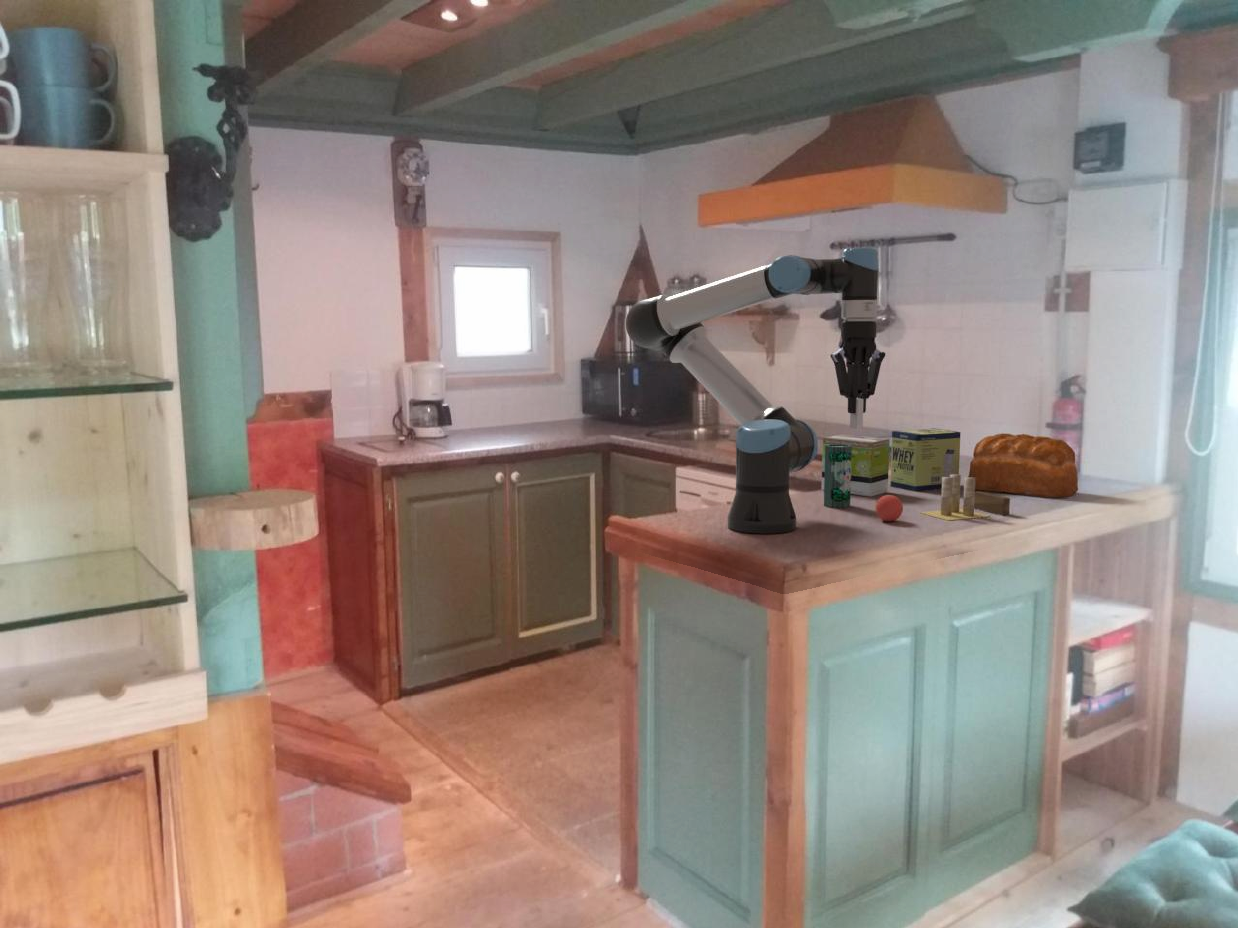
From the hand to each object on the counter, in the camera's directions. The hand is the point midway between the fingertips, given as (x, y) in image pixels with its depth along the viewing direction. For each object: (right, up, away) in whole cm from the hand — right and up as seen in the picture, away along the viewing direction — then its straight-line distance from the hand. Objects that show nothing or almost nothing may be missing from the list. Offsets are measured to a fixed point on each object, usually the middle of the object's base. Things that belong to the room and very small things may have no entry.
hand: (856, 427), depth 215 cm
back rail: (+36, -19, +17) cm, 44 cm away
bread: (+55, -16, +45) cm, 73 cm away
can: (+2, -19, +26) cm, 32 cm away
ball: (+9, -18, +6) cm, 21 cm away
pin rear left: (+27, -20, +16) cm, 37 cm away
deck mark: (+26, -20, +13) cm, 35 cm away
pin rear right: (+29, -20, +11) cm, 37 cm away
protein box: (+32, -15, +53) cm, 64 cm away
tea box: (+11, -16, +46) cm, 50 cm away
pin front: (+24, -20, +12) cm, 33 cm away
